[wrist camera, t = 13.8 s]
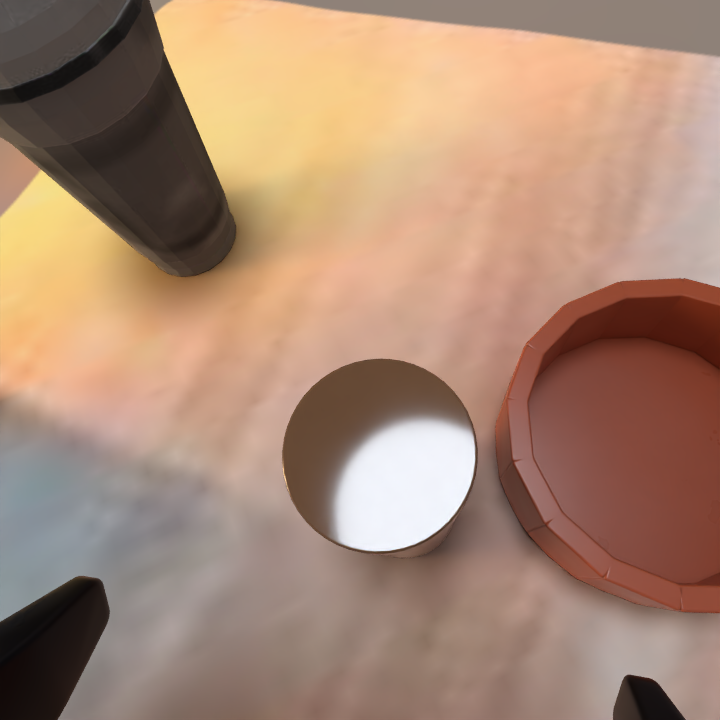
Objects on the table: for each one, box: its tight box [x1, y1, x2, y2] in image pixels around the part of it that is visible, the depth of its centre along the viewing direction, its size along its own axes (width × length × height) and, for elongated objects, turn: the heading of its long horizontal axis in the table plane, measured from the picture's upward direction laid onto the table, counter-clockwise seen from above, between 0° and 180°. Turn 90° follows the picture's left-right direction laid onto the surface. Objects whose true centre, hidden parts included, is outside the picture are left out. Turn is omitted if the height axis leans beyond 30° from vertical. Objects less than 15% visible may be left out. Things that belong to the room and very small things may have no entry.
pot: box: [495, 278, 720, 613], centre depth 18 cm, size 10×10×4 cm
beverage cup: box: [0, 0, 236, 277], centre depth 17 cm, size 7×7×20 cm
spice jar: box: [282, 359, 477, 558], centre depth 16 cm, size 4×4×10 cm
